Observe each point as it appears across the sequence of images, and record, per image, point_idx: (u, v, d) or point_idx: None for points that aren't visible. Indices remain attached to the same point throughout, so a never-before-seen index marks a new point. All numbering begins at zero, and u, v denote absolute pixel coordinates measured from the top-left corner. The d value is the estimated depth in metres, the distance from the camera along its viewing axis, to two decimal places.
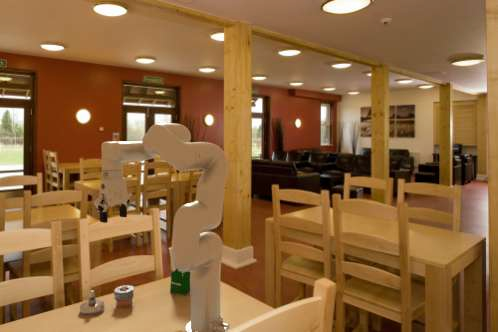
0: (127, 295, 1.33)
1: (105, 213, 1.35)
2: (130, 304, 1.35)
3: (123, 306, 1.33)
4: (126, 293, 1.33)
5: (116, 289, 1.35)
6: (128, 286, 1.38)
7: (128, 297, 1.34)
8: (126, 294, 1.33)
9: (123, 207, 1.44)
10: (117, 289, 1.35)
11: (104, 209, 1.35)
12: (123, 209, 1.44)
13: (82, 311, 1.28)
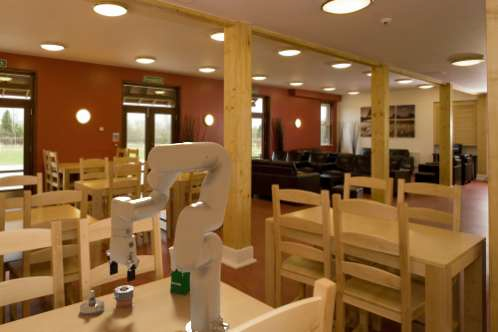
0: (127, 295, 1.33)
1: None
2: (130, 304, 1.35)
3: (123, 306, 1.33)
4: (126, 293, 1.33)
5: (116, 289, 1.35)
6: (128, 286, 1.38)
7: (128, 297, 1.34)
8: (126, 294, 1.33)
9: (115, 263, 1.38)
10: (117, 289, 1.35)
11: None
12: (116, 265, 1.38)
13: (82, 311, 1.28)
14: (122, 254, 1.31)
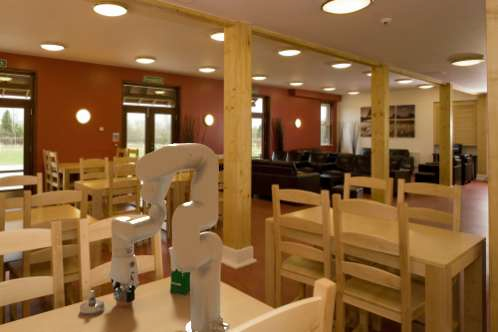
0: None
1: None
2: (130, 304, 1.35)
3: (123, 306, 1.33)
4: None
5: (116, 289, 1.35)
6: None
7: None
8: None
9: (119, 286, 1.38)
10: (117, 289, 1.35)
11: None
12: None
13: (82, 311, 1.28)
14: (123, 274, 1.32)
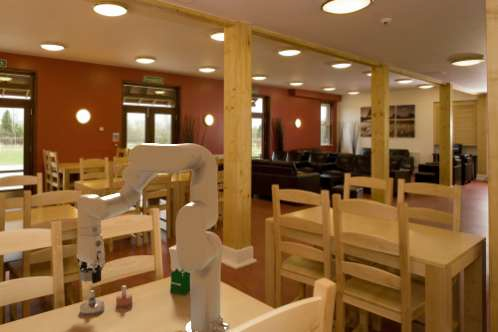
0: None
1: (100, 271, 1.30)
2: (130, 304, 1.35)
3: (123, 306, 1.33)
4: None
5: (82, 269, 1.30)
6: None
7: None
8: None
9: (86, 266, 1.33)
10: (83, 269, 1.30)
11: None
12: None
13: (82, 311, 1.28)
14: (89, 253, 1.27)
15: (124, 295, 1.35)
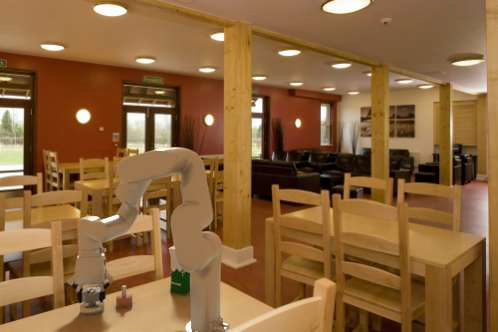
0: None
1: None
2: (130, 304, 1.35)
3: (123, 306, 1.33)
4: (99, 293, 1.30)
5: (84, 293, 1.29)
6: (92, 288, 1.34)
7: None
8: (99, 294, 1.31)
9: (82, 290, 1.32)
10: (85, 292, 1.30)
11: None
12: None
13: (82, 311, 1.28)
14: (97, 274, 1.29)
15: (124, 295, 1.35)
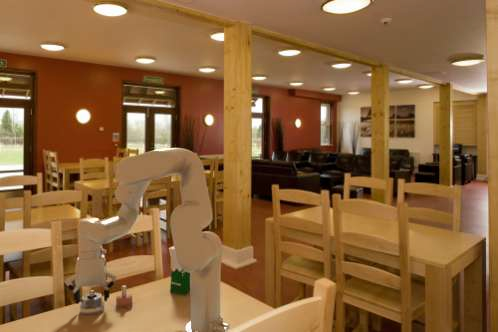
0: (100, 300, 1.31)
1: None
2: (130, 304, 1.35)
3: (123, 306, 1.33)
4: (100, 298, 1.31)
5: (84, 299, 1.29)
6: None
7: (101, 302, 1.32)
8: (100, 299, 1.31)
9: (78, 290, 1.31)
10: (85, 298, 1.30)
11: None
12: (79, 292, 1.31)
13: (82, 311, 1.28)
14: (99, 275, 1.29)
15: (124, 295, 1.35)
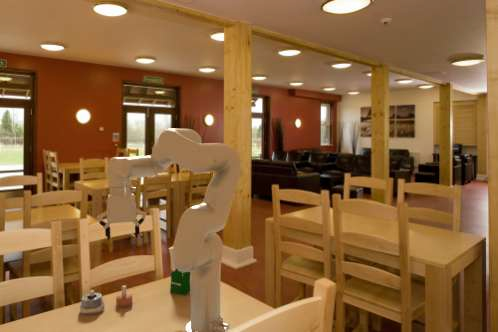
0: (100, 300, 1.31)
1: None
2: (130, 304, 1.35)
3: (123, 306, 1.33)
4: (100, 298, 1.31)
5: (84, 299, 1.29)
6: None
7: (101, 302, 1.32)
8: (100, 299, 1.31)
9: (109, 227, 1.35)
10: (85, 298, 1.30)
11: (138, 222, 1.38)
12: (109, 229, 1.36)
13: (82, 311, 1.28)
14: (129, 211, 1.34)
15: (124, 295, 1.35)
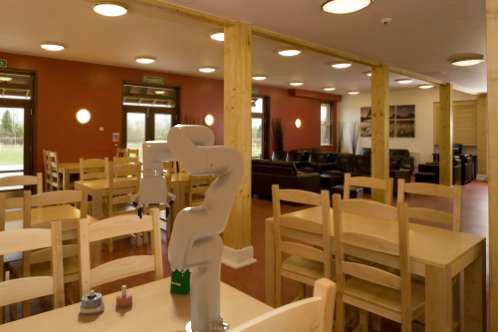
0: (100, 300, 1.31)
1: None
2: (130, 304, 1.35)
3: (123, 306, 1.33)
4: (100, 298, 1.31)
5: (84, 299, 1.29)
6: None
7: (101, 302, 1.32)
8: (100, 299, 1.31)
9: None
10: (85, 298, 1.30)
11: None
12: (141, 209, 1.43)
13: (82, 311, 1.28)
14: (161, 193, 1.41)
15: (124, 295, 1.35)
